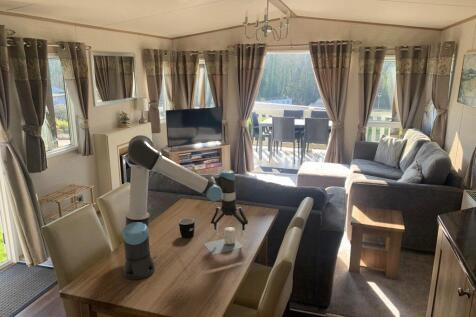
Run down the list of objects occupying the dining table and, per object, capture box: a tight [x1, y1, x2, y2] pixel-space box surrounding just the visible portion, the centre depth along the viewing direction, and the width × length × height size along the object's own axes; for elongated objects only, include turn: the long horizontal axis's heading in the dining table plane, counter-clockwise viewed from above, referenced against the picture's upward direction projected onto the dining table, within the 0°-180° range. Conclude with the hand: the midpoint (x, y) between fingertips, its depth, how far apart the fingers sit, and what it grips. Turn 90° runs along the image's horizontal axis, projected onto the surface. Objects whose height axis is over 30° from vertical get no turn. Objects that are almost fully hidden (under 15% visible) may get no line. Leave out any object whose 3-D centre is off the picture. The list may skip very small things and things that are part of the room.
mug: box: [178, 217, 196, 239], centre depth 211 cm, size 12×9×10 cm
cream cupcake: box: [223, 226, 237, 244], centre depth 198 cm, size 6×6×7 cm
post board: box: [203, 238, 244, 255], centre depth 197 cm, size 18×14×8 cm
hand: (229, 235), depth 198 cm, fingers open, 13 cm apart
